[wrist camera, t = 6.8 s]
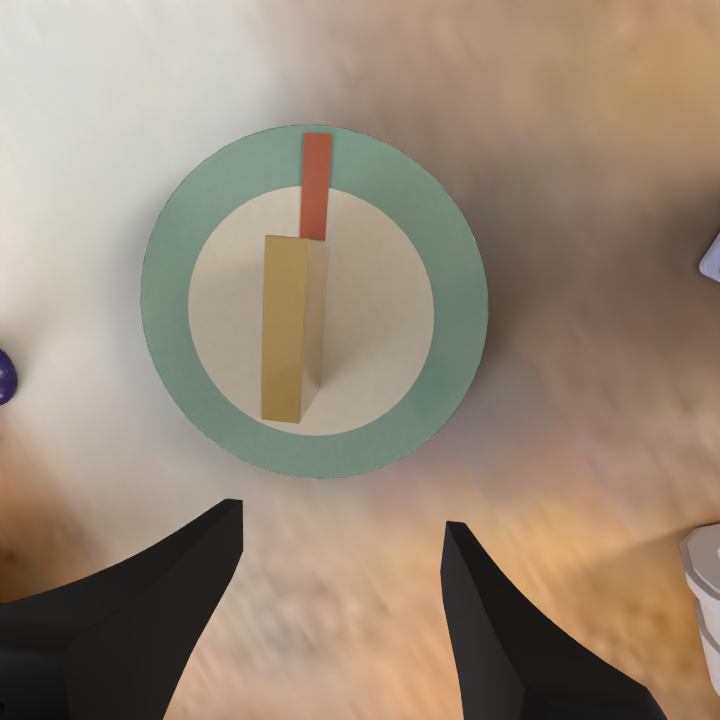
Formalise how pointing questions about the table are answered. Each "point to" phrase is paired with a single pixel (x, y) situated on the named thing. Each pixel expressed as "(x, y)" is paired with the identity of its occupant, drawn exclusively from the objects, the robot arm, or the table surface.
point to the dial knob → (314, 301)
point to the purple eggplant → (6, 378)
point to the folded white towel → (705, 590)
